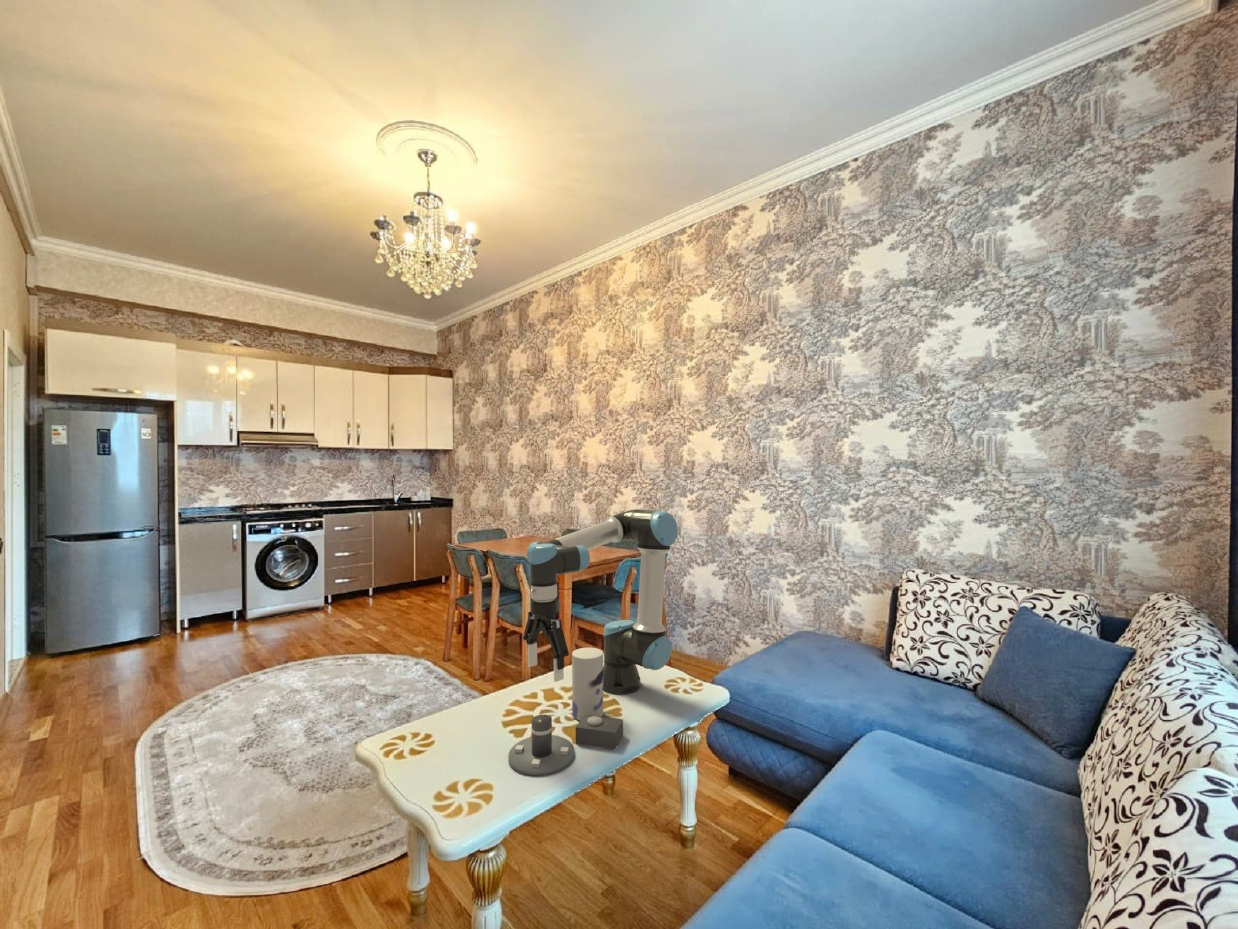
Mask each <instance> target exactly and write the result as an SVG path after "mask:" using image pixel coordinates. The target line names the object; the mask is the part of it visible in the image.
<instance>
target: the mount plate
mask: <svg viewBox="0 0 1238 929" xmlns="http://www.w3.org/2000/svg"><path fill="white" fill-rule="evenodd" d="M574 759H575V747H574V745H573V743H572V742H571V740H569V739H567V738H565V737H562V736H560V735H554V734H552V753H551V754H550V755H549V756H547V757H542V758H538V757H535V756H533V755H532V736H529V737H526V738H524V739H522V740H519V741H518V742H516V743H515V744H514V745H513V746H512V747H511V748H510V750H509V752H508V764H509V766H510V768H511V769H512V770H513V771H515V772H516V773H519V774H521V775H525V776H530V777H531V776H532V777H533V776H534V777H543V776H548V775H553V774H556V773H558V772H561V771H562V770H564V769H566V768H567V767H568V766H570V765H571V763H572V762H573V761H574Z"/></svg>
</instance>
